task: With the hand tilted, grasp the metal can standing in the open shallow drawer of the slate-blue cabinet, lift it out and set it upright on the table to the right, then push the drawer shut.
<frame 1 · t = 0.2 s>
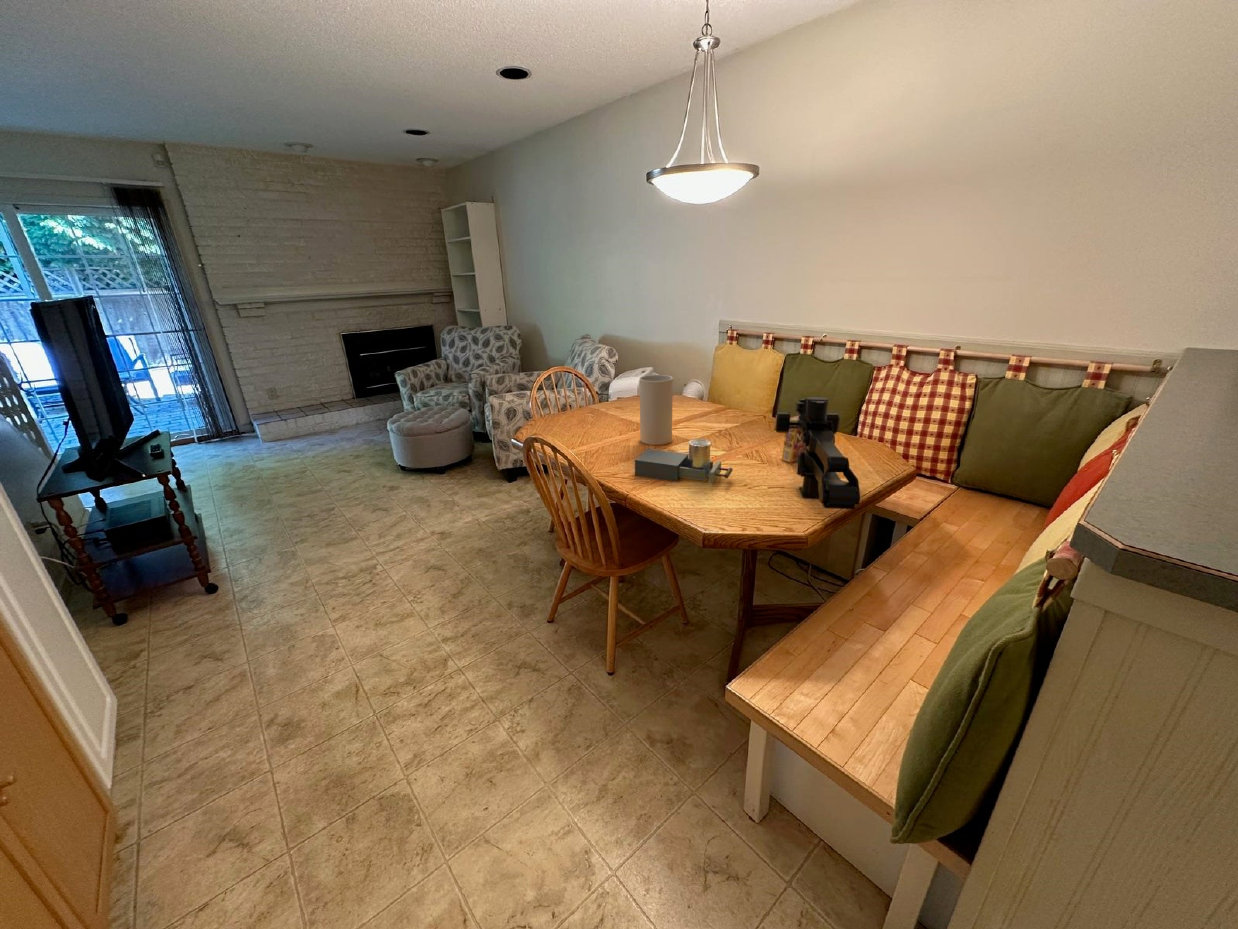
hand: (801, 415, 157), 17 cm above the table, tool horizontal, fingers open, 9 cm apart
candy box: (794, 459, 167), on the table
cylinder vase: (656, 441, 189), on the table
drawer: (702, 470, 152), point 3 cm above the table, slide at 10.0 cm, touching metal can
cabinet: (661, 472, 159), on the table
metal can: (698, 472, 153), point 2 cm above the table, touching drawer
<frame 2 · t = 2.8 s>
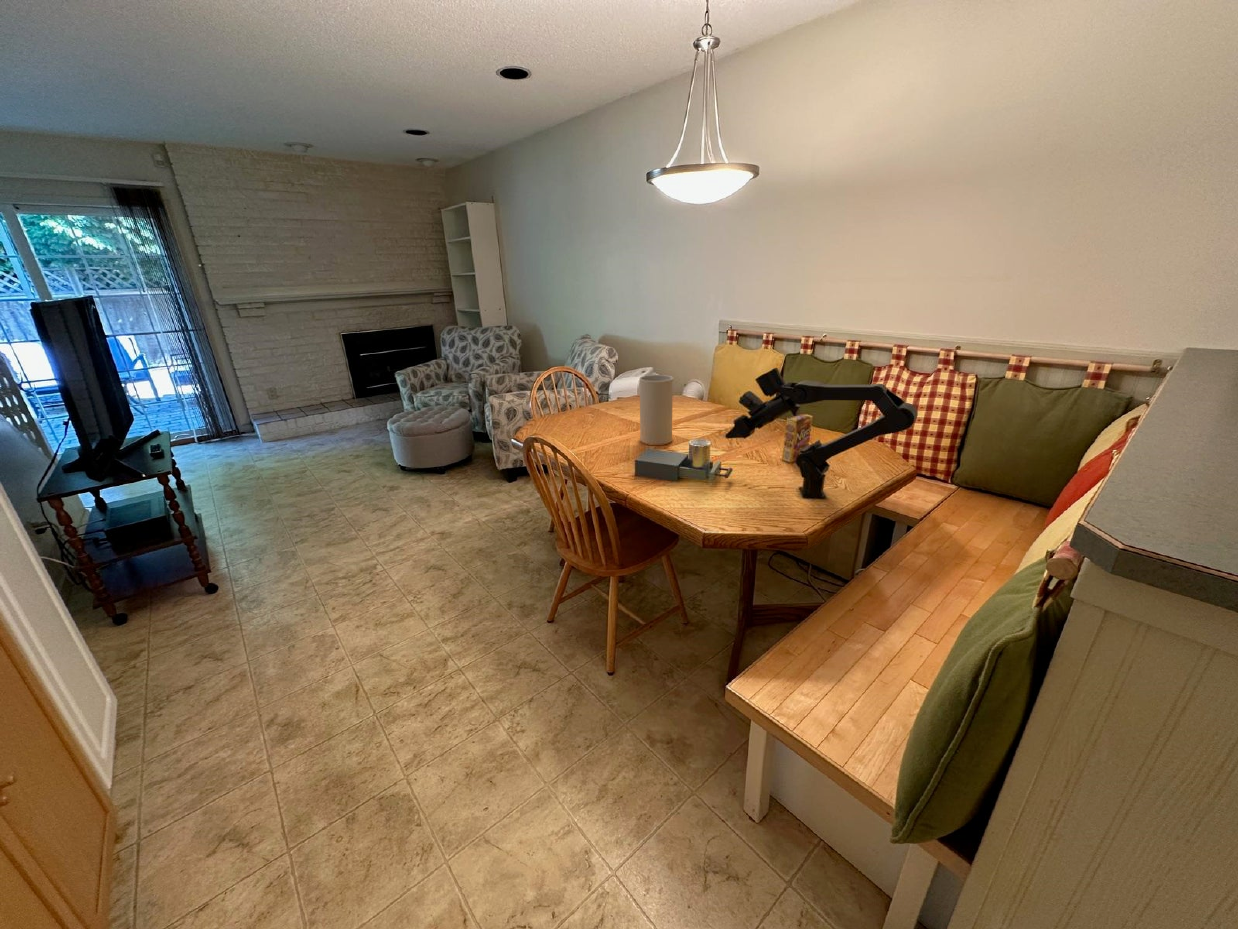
hand: (732, 433, 150), 14 cm above the table, tool tilted 55°, fingers open, 9 cm apart
nothing on the table moved.
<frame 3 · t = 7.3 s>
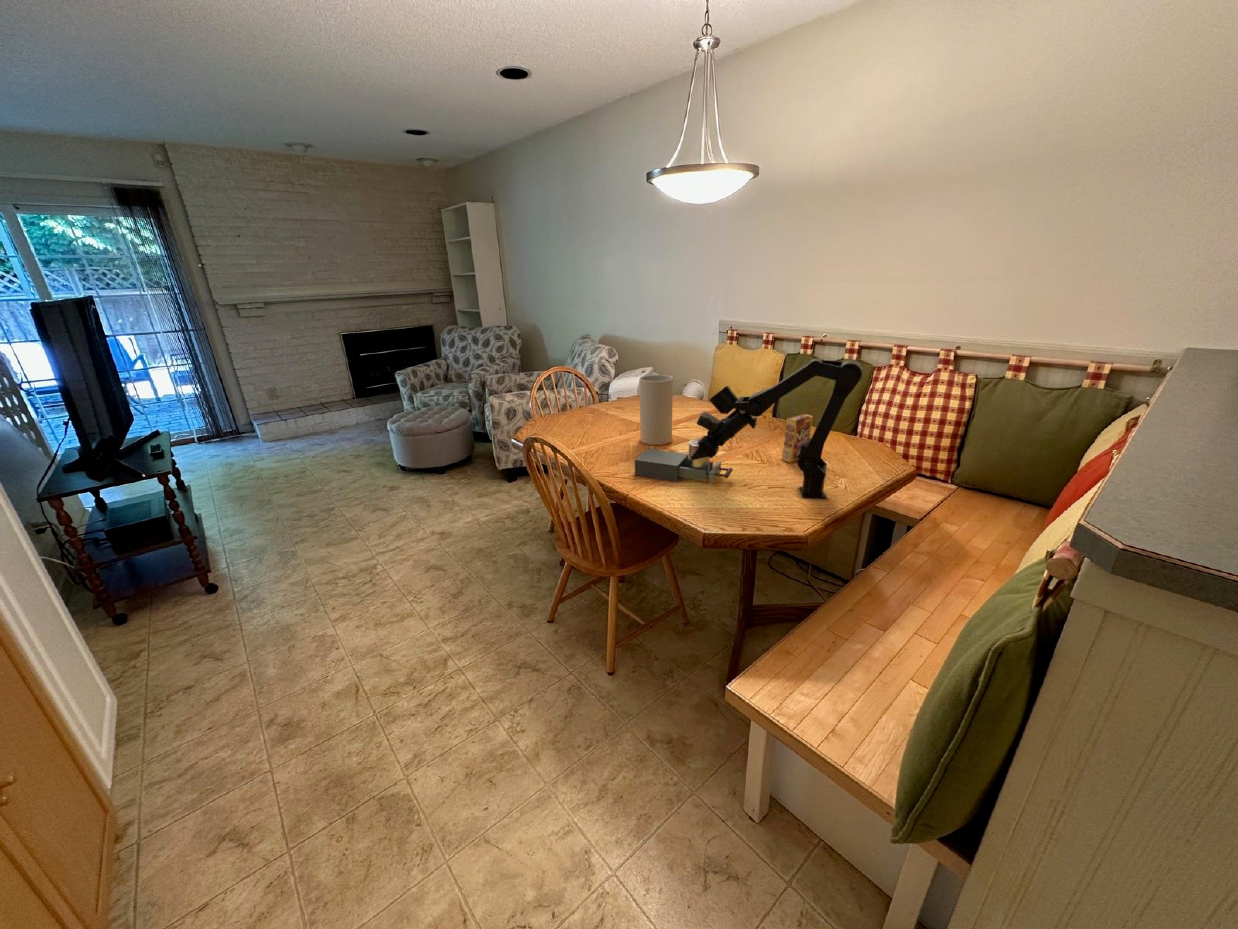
hand: (695, 455, 151), 8 cm above the table, tool tilted 45°, fingers closed on metal can, 6 cm apart
metal can: (698, 472, 153), point 2 cm above the table, touching drawer, gripper
everything else where it was.
when the fingers open (6 cm above the table, at t = 15.4 s): metal can stays where it is, on the table.
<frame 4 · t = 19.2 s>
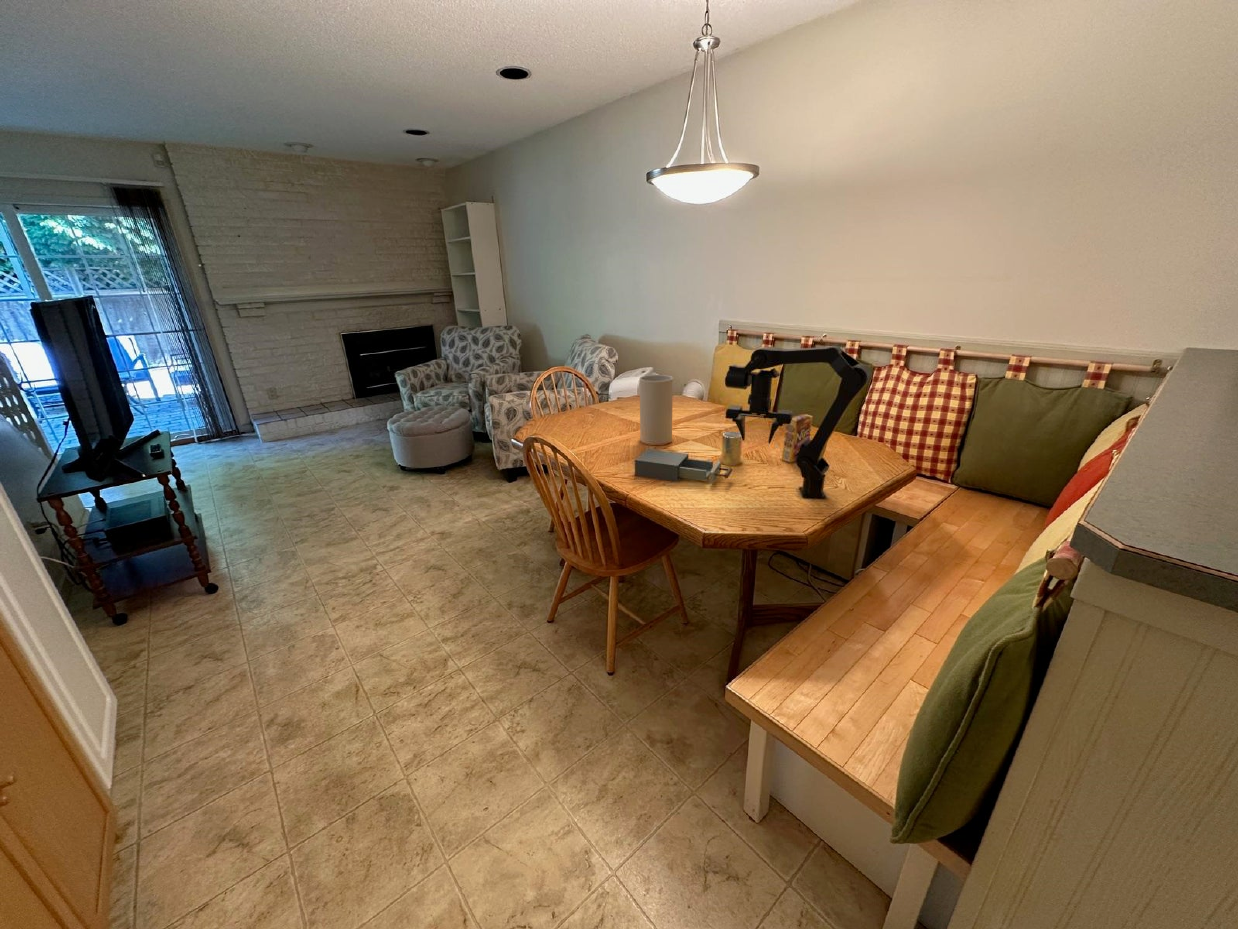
hand: (756, 441, 145), 13 cm above the table, tool pointing down, fingers open, 7 cm apart
drawer: (702, 470, 152), point 3 cm above the table, slide at 10.0 cm
metal can: (730, 462, 166), on the table
everything else where it was.
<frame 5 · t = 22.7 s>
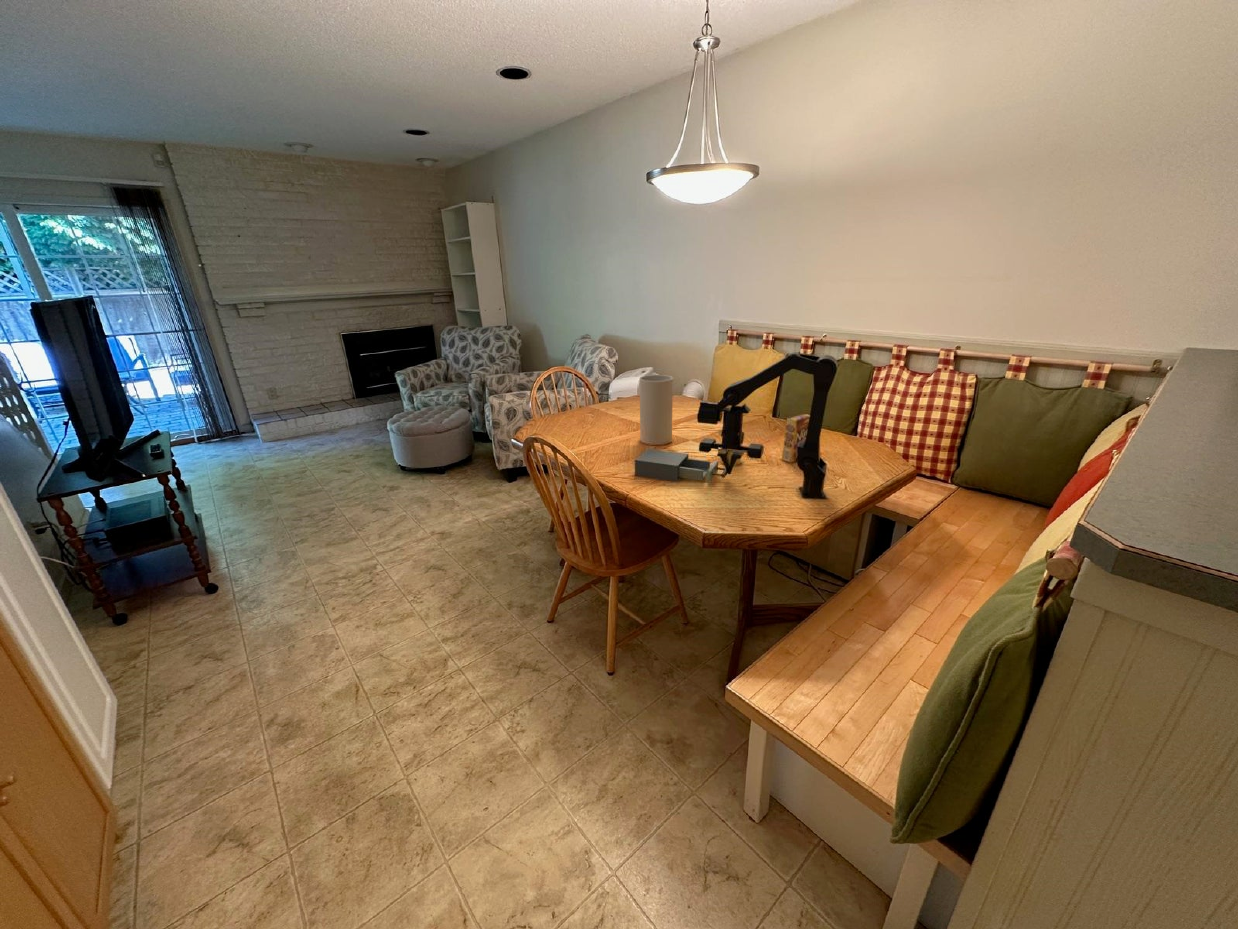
hand: (729, 473, 149), 3 cm above the table, tool pointing down, fingers closed
drawer: (699, 469, 152), point 3 cm above the table, slide at 9.0 cm, touching gripper
everything else where it was.
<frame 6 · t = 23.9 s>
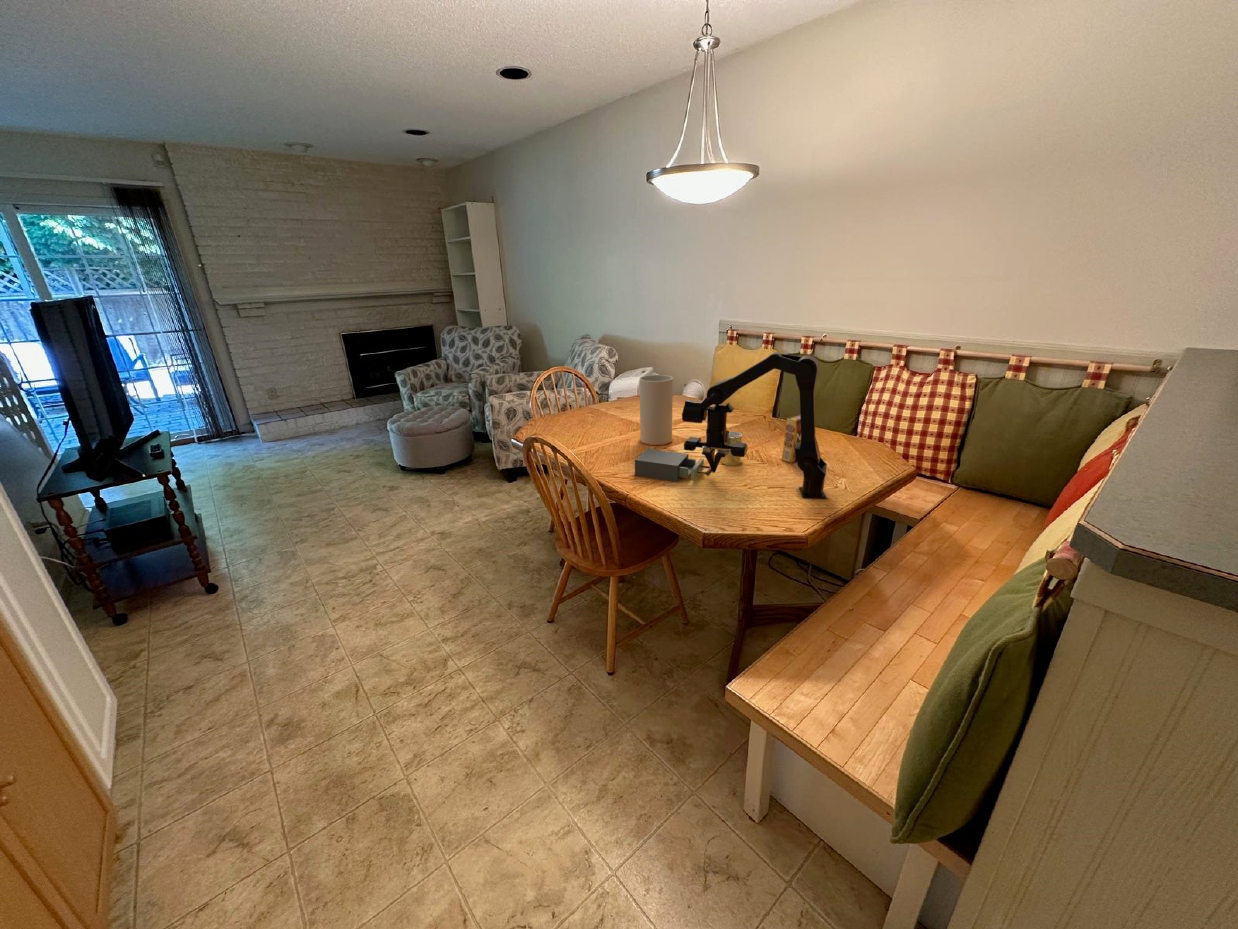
hand: (714, 472, 151), 3 cm above the table, tool pointing down, fingers closed
drawer: (685, 467, 154), point 3 cm above the table, slide at 4.2 cm, touching gripper
everything else where it was.
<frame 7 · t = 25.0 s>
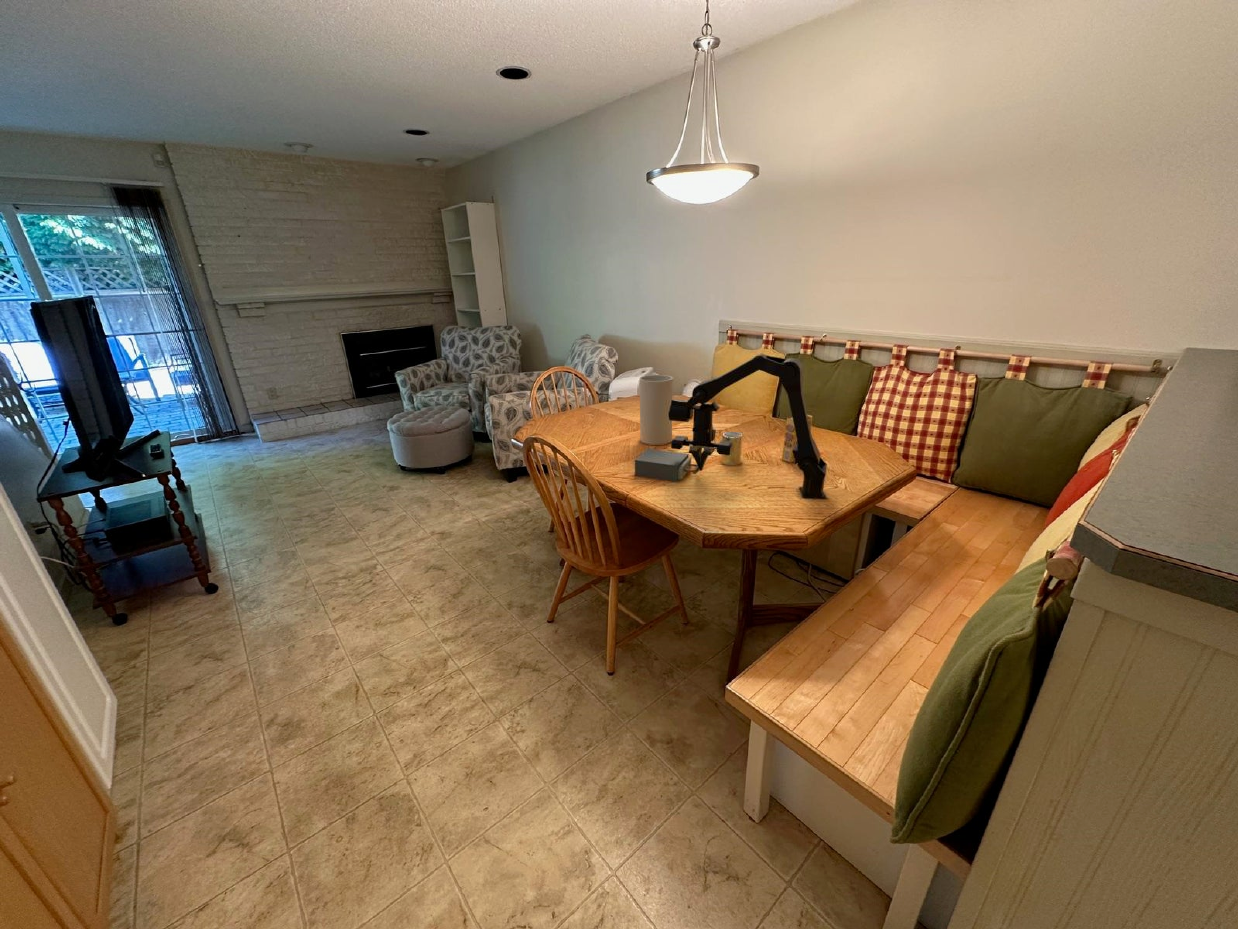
hand: (701, 470, 152), 3 cm above the table, tool pointing down, fingers closed
drawer: (673, 466, 156), point 3 cm above the table, slide at 0.0 cm, touching cabinet, gripper
everything else where it was.
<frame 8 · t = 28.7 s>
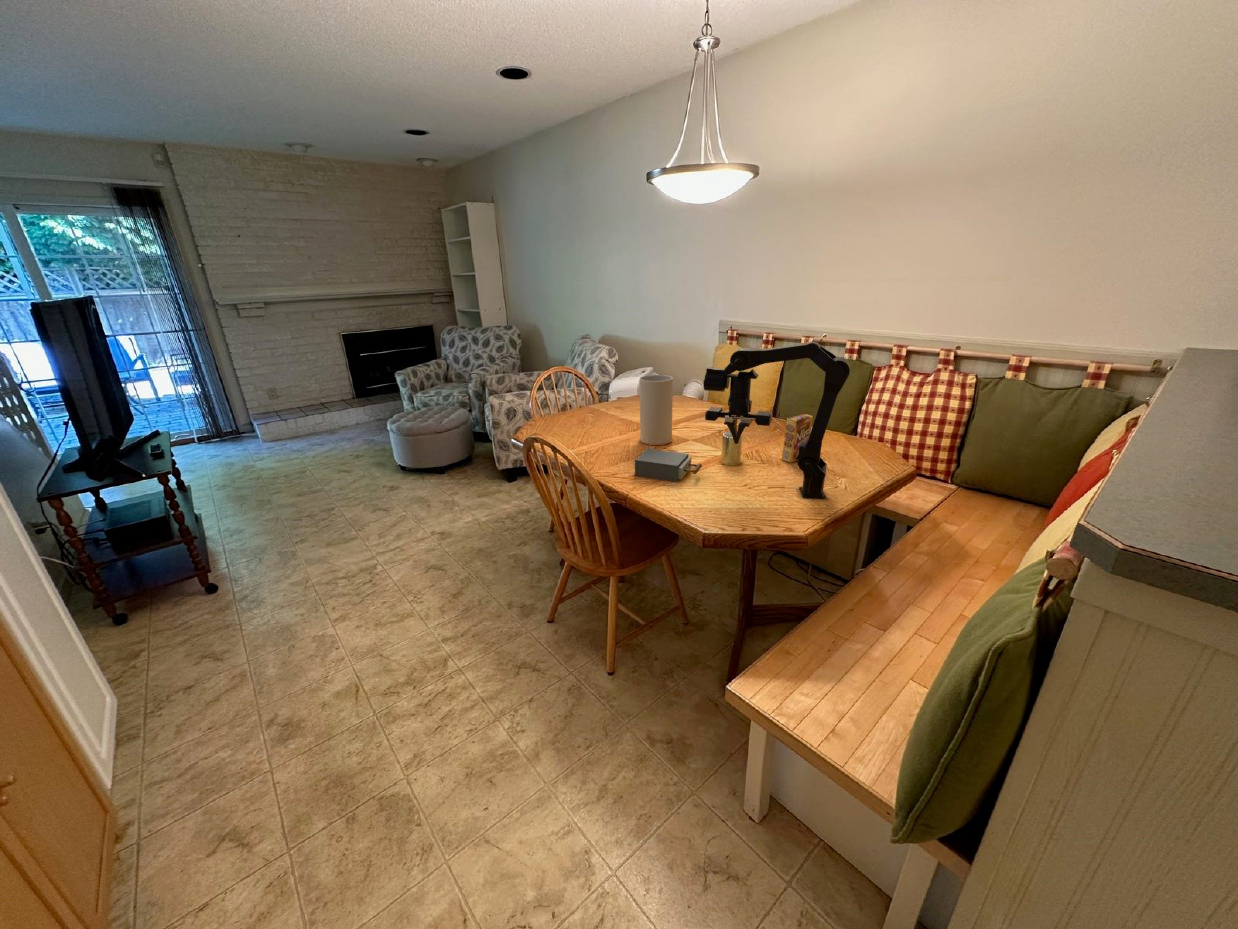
hand: (736, 443, 144), 13 cm above the table, tool pointing down, fingers closed
drawer: (673, 466, 156), point 3 cm above the table, slide at 0.0 cm, touching cabinet
everything else where it was.
at the end: metal can inside the target area (0.1 cm from its centre), on the table; metal can tilted 0°; drawer slide at 0.0 cm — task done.
